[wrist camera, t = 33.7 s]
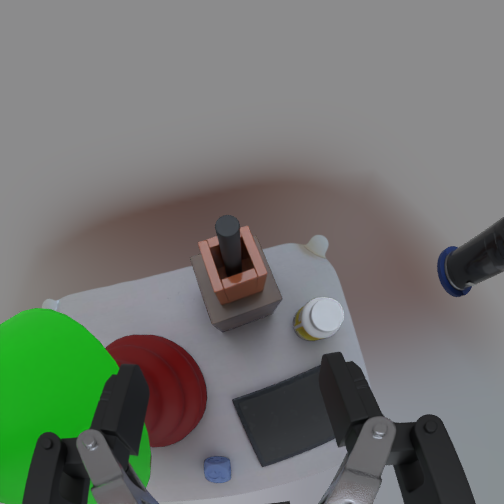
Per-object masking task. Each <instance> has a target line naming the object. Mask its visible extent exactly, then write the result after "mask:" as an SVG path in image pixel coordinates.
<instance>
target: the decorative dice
mask: <svg viewBox="0 0 504 504" xmlns="http://www.w3.org/2000/svg"><path fill="white" fill-rule="evenodd" d="M204 474H205V478H206V479H207V480H208V481H210V482H213V483H223V482H227V481H229V480H230V479H231V466H230V460H229V459H228V458H226V457H221V456H214V457H209V458H207V459H206V460H205V462H204Z"/></svg>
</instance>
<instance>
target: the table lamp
mask: <svg viewBox="0 0 504 504" xmlns="http://www.w3.org/2000/svg"><path fill="white" fill-rule="evenodd" d="M121 364H137V365H139V366H140V368H141V371H142V373H143V375H144V377H145V379H146V381H147V383H148V386H149V391H150V397H149V402H148V406H147V411H146V416H145V421H144V426H143V431H142V437H141V442H140V448H139V454H138V456H134V455H130V456H129V463H130V464H131V466H132V467H133V469H134V471H135V472H136V474H137V475H138V477H139V479H140V480H141V482H142V483H143V485H144V486H145V488H146V487H147V484H148V481H149V478H150V469H151V451H150V447H164V446H168V445H171V444H174V443H176V442H178V441H180V440H182V439H183V438H184V437H185V436H187V435H188V434H189V433H190V432H191V431H192V430H193V429H194V428H195V427H196V426H197V425H198V423H199V421H200V420H201V418H202V416H203V413H204V411H205V408H206V401H207V392H206V385H205V381H204V378H203V375H202V373H201V371H200V369H199V367H198V365H197V363H196V362H195V361H194V359H193V358H192V356H191V355H190V354H188V353H187V352H186V351H185V350H184V349H183V348H182V347H180V346H179V345H177V344H176V343H174V342H172V341H170V340H168V339H166V338H163V337H159V336H155V335H130V336H125V337H122V338H120V339H117V340H115V341H114V342H112V343H111V344H110V345H108V346H107V347H106V348H104V347H103V345H102V344H101V343H100V341H99V340H98V339H96V338H95V337H94V336H93V335H92V334H91V333H90V332H89V331H88V330H87V329H86V328H85V327H84V326H82V325H81V324H79V323H78V322H76V321H75V320H73V319H71V318H70V317H68V316H67V315H65V314H62V313H59V312H56V311H54V310H51V309H40V308H35V309H30V310H26V311H22V312H20V313H19V314H17V315H15V316H14V317H12V318H10V319H9V320H7V321H5V322H4V323H2V324H0V502H1V503H5V504H22V501H23V495H24V490H25V485H26V480H27V476H28V472H29V468H30V464H31V460H32V456H33V453H34V449H35V446H36V443H37V440H38V438H39V436H40V435H42V434H43V433H45V432H52V433H55V434H56V435H57V436H58V437H59V438H60V439H62V438H76V437H78V436H79V434H80V433H82V432H83V431H85V430H89V428H90V426H91V423H92V420H93V417H94V413H95V410H96V408H97V405H98V402H99V401H100V396H101V393H102V390H103V388H104V385H105V382H106V381H107V380H108V379H109V378H110V376H111V375H112V374H116V375H117V373H118V371H119V368H120V366H121ZM92 487H93V484H92V482H91V480H90V487H89V494H88V503H87V504H97V503H96V501H95V499H94V497H93V495H92V492H91V488H92Z"/></svg>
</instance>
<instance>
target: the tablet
mask: <svg viewBox="0 0 504 504" xmlns="http://www.w3.org/2000/svg"><path fill="white" fill-rule="evenodd" d="M320 367H321V365H319V366H317V367H315V368H313V369H310V370H308V371H306V372H303V373H301V374H299V375H296V376H294V377H292V378H289V379H287V380H284V381H282V382H279V383H277V384H274V385H272V386H269V387H266V388H264V389H261V390H258V391H255V392H253V393H250V394H247V395H244V396H241V397H238V398H235V399H233V400H232V401H233V403H234V406H235V408H236V410H237V413H238V415H239V417H240V420H241V422H242V424H243V427H244V429H245V431H246V433H247V436H248V438H249V440H250V442H251V444H252V446H253V449H254V451H255V453H256V455H257V457H258V459H259V461H260V463H261V465H262V467H264V466H268V465H271V464H274V463H276V462H279V461H282V460H285V459H288V458H290V457H293V456H295V455H298V454H300V453H303V452H305V451H308V450H310V449H312V448H315V447H317V446H319V445H322V444H324V443H326V442H328V441H330V440H332V439H334V438H335V436H334V432H333V429H332V426H331V423H330V419H329V416H328V413H327V410H326V407H325V403H324V400H323V397H322V394H321V391H320V387H319V372H320Z"/></svg>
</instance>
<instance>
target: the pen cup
mask: <svg viewBox="0 0 504 504" xmlns="http://www.w3.org/2000/svg"><path fill="white" fill-rule="evenodd" d="M240 243H241V261H242V272H241V273H238V274H236V275H233V276H230V277H227V274H226V270H225V266H224V262H223V258H222V254H221V250H220V246H219V242H218V237H217V236H215V237H212V238H210V239H207V240H204V241H202V242H199V243H198V246H199V249H200V252H201V255H202V258H203V261H204V264H205V267H206V270H207V273H208V276H209V279H210V282H211V285H212V288H213V291H214V293H215V295H216V297H217V299H218V300H219V302H220V304H221V305H224V304H227V303H230V302H233V301H236V300H238V299H241V298H244V297H247V296H249V295H252V294H255V293H258V292H260V291H263V289H264V285H265V282H266V278H267V274H268V272H267V270H266V268H265V265H264V263H263V260H262V258H261V255H260V253H259V251H258V248H257V246H256V243H255V241H254V239H253V236H252V234H251V231H250V229H249V227H248V226H245V227H242V228H240Z"/></svg>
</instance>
